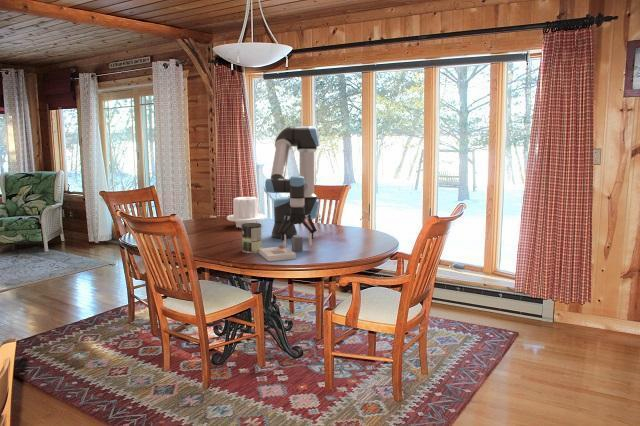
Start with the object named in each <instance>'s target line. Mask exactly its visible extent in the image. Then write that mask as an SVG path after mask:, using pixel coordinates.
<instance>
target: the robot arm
mask: <svg viewBox="0 0 640 426" xmlns="http://www.w3.org/2000/svg"><path fill="white" fill-rule="evenodd" d="M319 146H320V136H319V130H318V128H317V127H316V126H311V125H308V126H307V125H306V126H305V125H304V126H296V125H295V126H294V125H293V126H292V125H291V126H287V127H286V128H285V127H284V129H282V130H281V131H280V132H279V133H278V135H277V136H276V139H275V141H274V148H275V149H274V150H275V152H274V157H273V162H272V169H271V174H270V178H267V179H266V180H265V181H264V182H265V185H264V186H265V191H266V193H270V194H275V193H276V194H281V193H282V194H289V195H290V196H285V197H284V196H283V197H282V196H281V197H279V198H276V199H274V201H273V214H274V215H273V216H274V218H273V219H274V221H273V222H274V224H273V227H272V230H271V237H272V238H274V239H281V241H282V246H283V247H287V239H292V237H293V236H294V235H298V231H297V228H296V225H301V224H302V225H303V226H304V227H305V228H306V229H307V230H308V231H309V232H308V246H311V247H312V240H313V239H314V233H315V232H317V231H318V230H317V228H316V226H315V224H314V221H313V220H314V219H315V220H316V219H317V218H318V214H319V210H320V199H319V198H318V196H317V195H316V194H315V152H316V151H317V148H318V147H319ZM292 147H296V150H297V152H298V153H299V175H293V176H290V178H286V173H287V164H288V159H289V158H288V157H289V153H290V150H291V149H292ZM305 220H307V221H308V223H307V222H306V221H305ZM308 224H309V225H308Z"/></svg>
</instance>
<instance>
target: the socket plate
mask: <svg viewBox="0 0 640 426" xmlns="http://www.w3.org/2000/svg"><path fill="white" fill-rule="evenodd" d="M258 253H259V255H261V257H263V258H264V259H265V260H266V261H267V262H276V261H288V260H296V259H297V252H294V251H292V249H290V248H289V247H287V246H286V247H283V245H278V246H275V247H273V246H271V247H262V248H260V249H259V252H258Z"/></svg>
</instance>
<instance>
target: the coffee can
mask: <svg viewBox="0 0 640 426" xmlns="http://www.w3.org/2000/svg"><path fill="white" fill-rule="evenodd" d="M241 226H242V228H241V243H242V244H241V245H242V246H241V247H242V248H241V250H242V253H245V254H255V253H256V254H257V253H259V249H260V248H263V247H262V223H259V222H257V223H245V224H242V225H241Z"/></svg>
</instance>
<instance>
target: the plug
mask: <svg viewBox="0 0 640 426" xmlns="http://www.w3.org/2000/svg"><path fill="white" fill-rule="evenodd" d="M303 246H304V245H303V237H302V236H301V235H299V234H297V235H294V236H293V237H292V238H291V251H293V252H294V253H301V252H303V251H304V248H303Z"/></svg>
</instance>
